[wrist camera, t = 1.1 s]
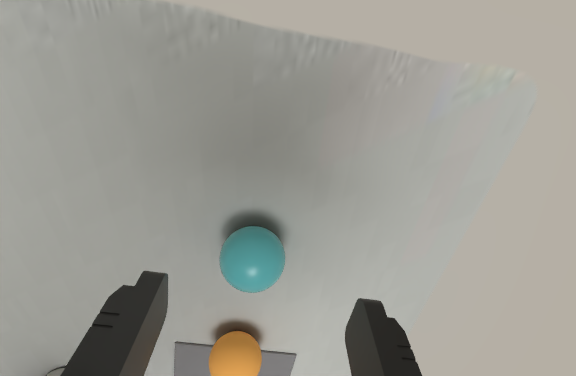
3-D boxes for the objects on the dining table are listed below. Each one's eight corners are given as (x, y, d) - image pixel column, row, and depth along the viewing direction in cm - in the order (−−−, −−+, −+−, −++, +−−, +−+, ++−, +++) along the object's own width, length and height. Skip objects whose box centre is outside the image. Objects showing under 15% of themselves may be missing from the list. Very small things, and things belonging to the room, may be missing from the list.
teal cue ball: (251, 270, 31) (245, 316, 26) (212, 234, 29) (198, 277, 24) (296, 243, 30) (299, 287, 25) (259, 202, 28) (254, 242, 23)
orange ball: (236, 357, 38) (229, 408, 33) (203, 333, 36) (191, 383, 31) (272, 339, 36) (271, 389, 31) (241, 312, 34) (234, 361, 29)
